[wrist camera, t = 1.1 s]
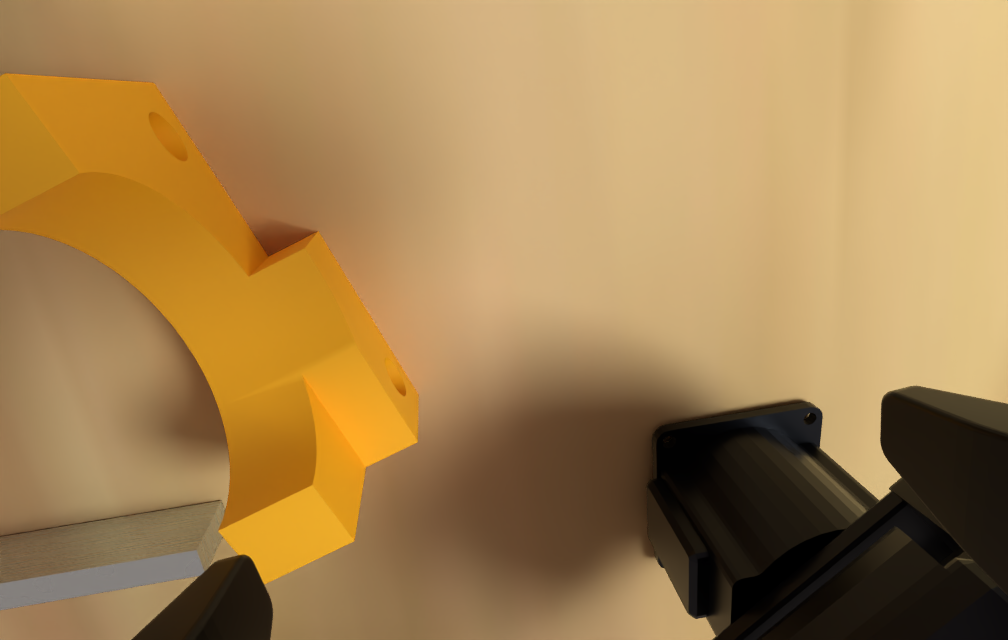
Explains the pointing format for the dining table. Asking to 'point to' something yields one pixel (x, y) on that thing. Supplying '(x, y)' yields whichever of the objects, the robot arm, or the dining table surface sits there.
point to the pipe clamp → (217, 305)
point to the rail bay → (108, 554)
